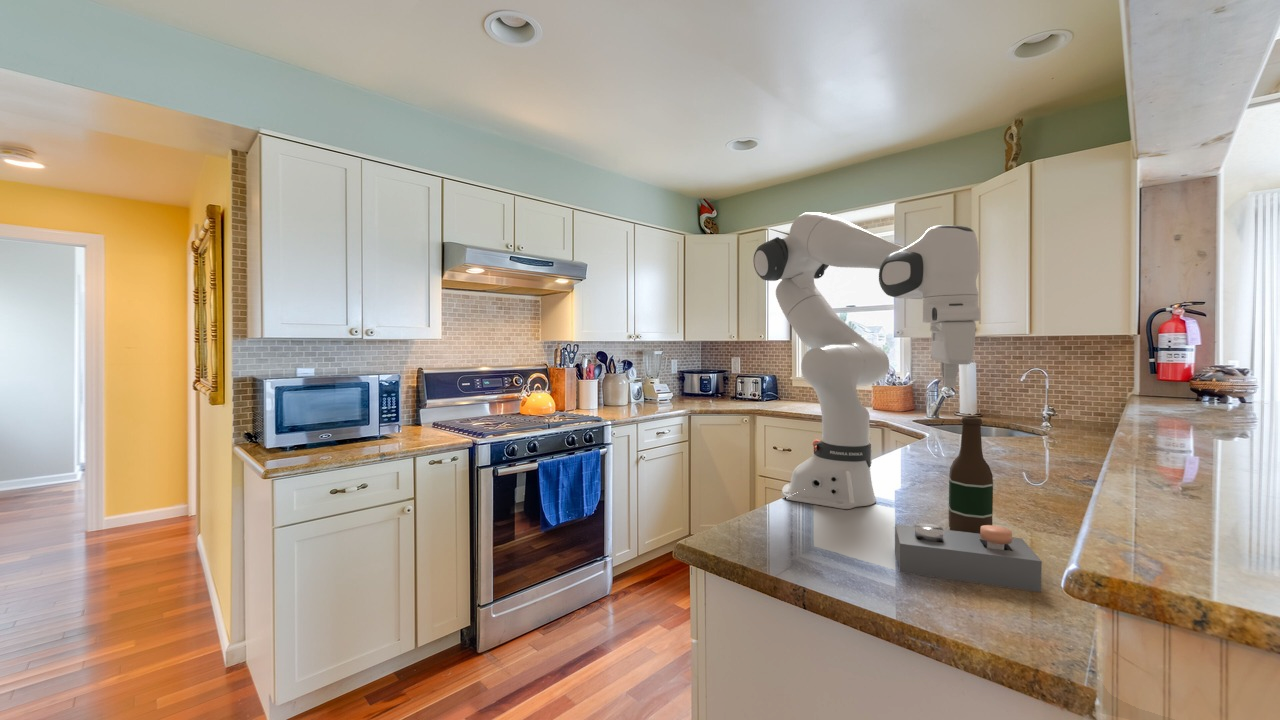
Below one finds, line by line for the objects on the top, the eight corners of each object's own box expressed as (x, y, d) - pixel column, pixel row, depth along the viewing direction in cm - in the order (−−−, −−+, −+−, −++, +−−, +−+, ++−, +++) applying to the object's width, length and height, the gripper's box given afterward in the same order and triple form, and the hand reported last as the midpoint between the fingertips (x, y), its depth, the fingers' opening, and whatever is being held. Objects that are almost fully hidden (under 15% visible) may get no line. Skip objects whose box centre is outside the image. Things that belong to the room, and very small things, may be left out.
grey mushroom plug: (916, 564, 90) (916, 530, 90) (913, 554, 95) (913, 522, 94) (944, 568, 89) (945, 533, 89) (940, 558, 93) (941, 525, 93)
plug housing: (899, 572, 89) (900, 543, 89) (894, 550, 98) (895, 524, 98) (1041, 592, 81) (1041, 561, 81) (1021, 566, 91) (1021, 538, 91)
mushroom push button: (983, 568, 87) (983, 532, 86) (977, 558, 91) (977, 523, 91) (1014, 572, 85) (1015, 536, 85) (1007, 561, 89) (1007, 527, 89)
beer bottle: (996, 532, 107) (998, 417, 106) (987, 543, 101) (989, 421, 100) (953, 523, 112) (955, 413, 111) (943, 533, 106) (944, 417, 106)
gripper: (923, 315, 107) (922, 382, 107) (939, 310, 88) (938, 391, 88) (958, 314, 104) (957, 382, 105) (982, 309, 85) (981, 392, 86)
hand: (948, 386), depth 96 cm, fingers closed
